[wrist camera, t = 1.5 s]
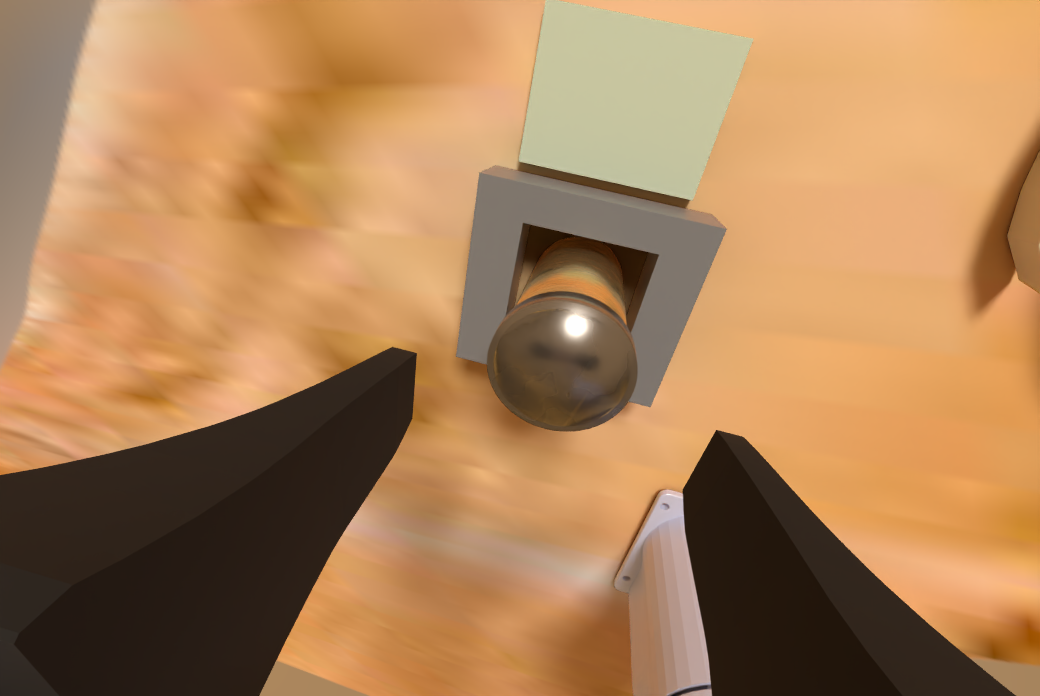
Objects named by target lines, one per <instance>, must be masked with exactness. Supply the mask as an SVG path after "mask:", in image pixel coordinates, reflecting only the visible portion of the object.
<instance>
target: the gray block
mask: <svg viewBox="0 0 1040 696" xmlns="http://www.w3.org/2000/svg"><path fill="white" fill-rule="evenodd" d="M530 224H531V225H535V226H539V227H543V228H548V229H552V230H556V231H560V232H565V233H569V234H573V235H577V236H582V237H586V238H590V239H595V240H599V241H603V242H607V243H612V244H616V245H620V246H624V247H629V248H633V249H637V250H641V251H646V252H648V255H647V258H646V261H645V263H644V266H643V269H642V272H641V275H640V278H639V281H638V284H637V287H636V289H635V292H634V295H633V298H632V301H631V304H630V307H629V310H628V313H627V316H626V322H627V327H628V329H629V331H630V333H631V334H632V337H633V340H634V343H635V349H636V356H637V365H638V375H637V383H636V386H635V389H634V392H633V394H632V396H631V398H630V400H629V402H632V403H636V404H640V405H644V406H648V407H651V405H652V402H653V400H654V398H655V395H656V393H657V391H658V388H659V386H660V384H661V381H662V379H663V377H664V374H665V372H666V370H667V367H668V365H669V363H670V360H671V358H672V356H673V353H674V351H675V349H676V346H677V344H678V342H679V339H680V337H681V335H682V332H683V330H684V328H685V325H686V323H687V321H688V318H689V316H690V314H691V311H692V309H693V307H694V304H695V302H696V300H697V297H698V295H699V293H700V290H701V288H702V286H703V283H704V281H705V279H706V276H707V274H708V272H709V269H710V267H711V265H712V262H713V260H714V258H715V255H716V253H717V251H718V248H719V246H720V244H721V241H722V239H723V237H724V234H725V232H726V230H727V229H726V228H725V227H724V226H723V225H722V224H721V223H720V222H719V221H718V220H717V219H716V218H715V217H714V216H713V215H712V214H707V213H703V212H698V211H694V210H690V209H685V208H681V207H676V206H672V205H667V204H663V203H659V202H654V201H650V200H645V199H641V198H637V197H632V196H628V195H623V194H619V193H614V192H610V191H606V190H601V189H597V188H592V187H588V186H584V185H579V184H575V183H570V182H566V181H561V180H557V179H553V178H548V177H544V176H539V175H535V174H531V173H526V172H522V171H517V170H513V169H508V168H504V167H500V166H493V167H491V168H489V169H486V170H484V171H482V172H480V173H479V180H478V188H477V196H476V204H475V211H474V219H473V227H472V235H471V243H470V251H469V259H468V267H467V274H466V282H465V290H464V298H463V306H462V314H461V322H460V330H459V338H458V345H457V353H456V357H460V358H463V359H467V360H471V361H475V362H479V363H483V364H486V365H487V354H488V350H489V346H490V343H491V341H492V338H493V336H494V334H495V332H496V330H497V329H498V327H499V325H500V323H501V322H502V320H503V318H504V317H505V316H506V315H507V314H508V312H509V311H510V310H512V309H513V308H514V306H515V301H516V296H517V290H518V285H519V280H520V275H521V270H522V265H523V260H524V254H525V249H526V244H527V239H528V234H529V229H530Z"/></svg>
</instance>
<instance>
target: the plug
mask: <svg viewBox="0 0 1040 696" xmlns="http://www.w3.org/2000/svg"><path fill="white" fill-rule="evenodd" d="M487 371H488V376H489V379H490V382H491V385H492V387H493V389H494V391H495V393H496V395H497V396H498V398H499V399H500V400H501V402H502V403H503V404H504V405H505V406H506V407H507V408H508V409H509V410H510V411H511V412H512V413H514V414H515V415H517V416H518V417H519V418H521V419H523V420H525V421H526V422H528V423H531V424H533V425H535V426H538V427H541V428H544V429H549V430H554V431H580V430H585V429H589V428H592V427H595V426H598V425H600V424H602V423H605V422H606V421H608V420H610V419H611V418H613V417H614V416H615V415H616V414H618V413H619V412H620V411H621V410H622V409H623V408H624V407H625V405H626V404H627V403H628V401H629V400H630V398H631V396H632V394H633V392H634V389H635V386H636V383H637V375H638V365H637V356H636V349H635V343H634V340H633V337H632V334H631V333H630V331H629V329H628V327H627V322H626V310H625V298H624V286H623V274H622V269H621V266H620V263H619V261H618V259H617V257H616V256H615V254H614V253H613V252H612V251H611V249H610V248H608V247H607V246H606V245H605V244H603V243H601V242H600V241H598V240H595V239H590V238H586V237H582V236H574V237H568V238H564V239H561V240H559V241H557V242H555V243H553V244H552V245H551V246H549V247H548V248H547V249H546V250H545V251H544V252H543V254H542V255H541V256H540V258H539V260H538V262H537V264H536V266H535V268H534V270H533V272H532V274H531V276H530V278H529V280H528V282H527V284H526V286H525V288H524V290H523V293H522V295H521V297H520V299H519V301H518V303H517V305H516V306H515V307H514V308H513V309H512V310H510V311H509V312H508V314H507V315H506V316H505V317H504V318H503V320H502V322H501V323H500V325H499V327H498V329H497V330H496V332H495V334H494V336H493V338H492V341H491V343H490V346H489V350H488V354H487Z"/></svg>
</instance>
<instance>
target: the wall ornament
mask: <svg viewBox="0 0 1040 696" xmlns="http://www.w3.org/2000/svg"><path fill="white" fill-rule="evenodd" d="M1007 238H1008V241H1009V245H1010V249H1011V253H1012V256H1013V260H1014V264H1015V268H1016V271H1017V275H1018V279H1019V280H1020V281H1021V282H1023V283H1024V284H1026V285H1027V286H1029V287H1031V288H1032V289H1034V290H1035V291H1037V292H1038V293H1040V151H1039V153H1038V155H1037V157H1036V159H1035V161H1034V164H1033V166H1032V168H1031V170H1030V172H1029V174H1028V176H1027V178H1026V180H1025V182H1024V184H1023V186H1022V189H1021V192H1020V195H1019V199H1018V202H1017V205H1016V208H1015V212H1014V215H1013V218H1012V221H1011V225H1010V228H1009V231H1008V234H1007Z"/></svg>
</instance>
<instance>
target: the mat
mask: <svg viewBox="0 0 1040 696" xmlns="http://www.w3.org/2000/svg"><path fill="white" fill-rule="evenodd" d="M752 41H753V39H752V38H747V37H742V36H737V35H732V34H727V33H721V32H716V31H711V30H706V29H701V28H696V27H691V26H686V25H681V24H676V23H671V22H665V21H660V20H655V19H650V18H645V17H640V16H635V15H630V14H625V13H620V12H615V11H610V10H604V9H599V8H594V7H589V6H584V5H579V4H574V3H569V2H564V1H559V0H546V2H545V8H544V14H543V20H542V26H541V32H540V38H539V44H538V50H537V55H536V61H535V67H534V73H533V79H532V85H531V91H530V97H529V103H528V109H527V115H526V121H525V127H524V133H523V139H522V144H521V150H520V156H519V162H524V163H528V164H532V165H537V166H541V167H546V168H550V169H555V170H559V171H564V172H568V173H572V174H577V175H581V176H586V177H590V178H595V179H599V180H604V181H608V182H612V183H617V184H621V185H626V186H630V187H635V188H639V189H644V190H648V191H653V192H657V193H661V194H666V195H670V196H675V197H679V198H684V199H688V200H693V198H694V196H695V193H696V190H697V188H698V185H699V182H700V180H701V177H702V175H703V172H704V169H705V167H706V164H707V161H708V159H709V156H710V153H711V151H712V148H713V145H714V143H715V140H716V137H717V135H718V132H719V129H720V127H721V124H722V121H723V119H724V116H725V113H726V111H727V108H728V105H729V103H730V100H731V97H732V95H733V92H734V89H735V87H736V84H737V81H738V79H739V76H740V73H741V71H742V68H743V65H744V63H745V60H746V57H747V55H748V52H749V49H750V47H751V44H752Z"/></svg>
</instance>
